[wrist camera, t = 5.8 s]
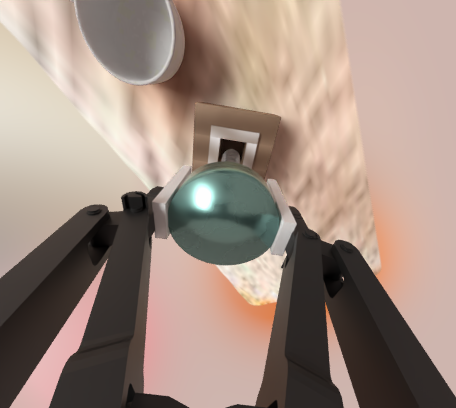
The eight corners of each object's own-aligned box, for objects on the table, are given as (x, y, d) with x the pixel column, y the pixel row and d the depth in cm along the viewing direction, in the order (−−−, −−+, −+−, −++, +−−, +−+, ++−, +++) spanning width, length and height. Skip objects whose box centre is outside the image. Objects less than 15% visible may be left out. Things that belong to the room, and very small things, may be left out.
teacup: (205, 34, 25) (192, 8, 18) (169, 104, 29) (149, 105, 22) (108, -61, 21) (45, -140, 14) (85, 37, 26) (29, 13, 19)
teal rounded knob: (204, 177, 26) (168, 257, 13) (208, 126, 22) (164, 165, 9) (250, 184, 26) (263, 271, 13) (262, 135, 22) (296, 186, 9)
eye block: (202, 102, 29) (194, 102, 23) (273, 114, 29) (281, 117, 24) (198, 170, 35) (191, 183, 30) (257, 179, 35) (260, 194, 30)
